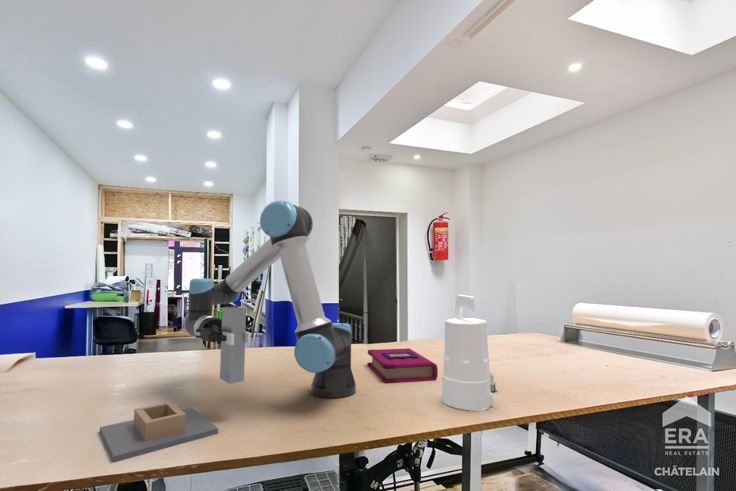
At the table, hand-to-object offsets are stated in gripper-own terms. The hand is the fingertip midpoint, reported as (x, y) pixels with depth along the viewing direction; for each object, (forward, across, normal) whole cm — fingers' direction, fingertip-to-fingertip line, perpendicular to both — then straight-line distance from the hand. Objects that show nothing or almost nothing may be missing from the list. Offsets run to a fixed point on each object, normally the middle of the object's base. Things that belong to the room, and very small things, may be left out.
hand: (241, 338), depth 105 cm
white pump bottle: (+31, -61, -22) cm, 72 cm away
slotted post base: (-6, +18, -22) cm, 29 cm away
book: (-8, -71, -23) cm, 75 cm away
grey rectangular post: (-5, 0, -12) cm, 13 cm away
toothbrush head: (+20, -82, -22) cm, 88 cm away
